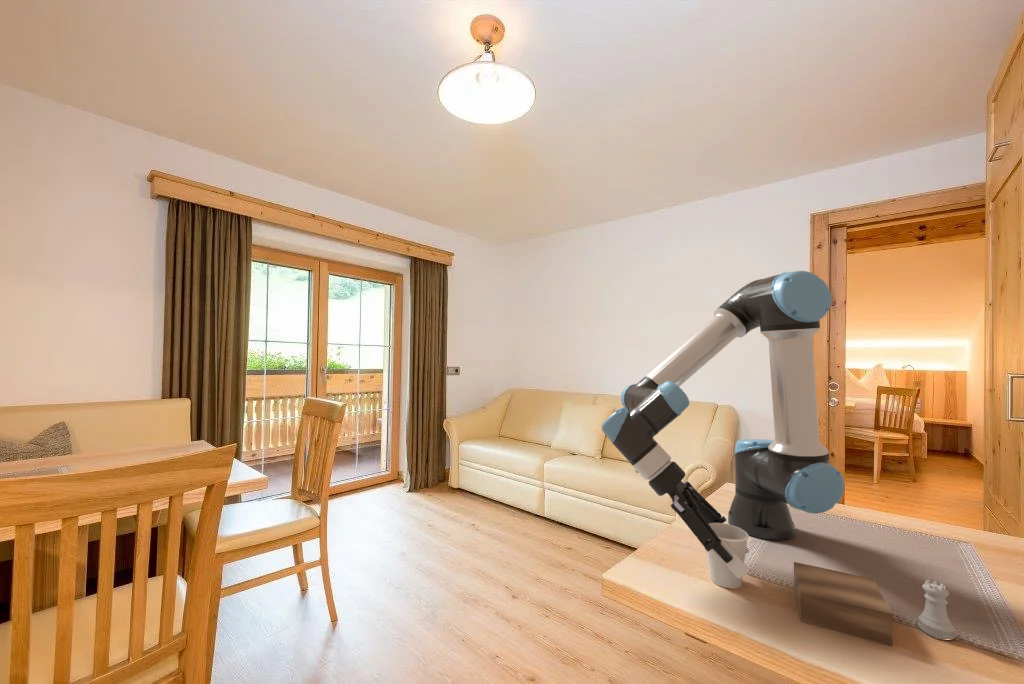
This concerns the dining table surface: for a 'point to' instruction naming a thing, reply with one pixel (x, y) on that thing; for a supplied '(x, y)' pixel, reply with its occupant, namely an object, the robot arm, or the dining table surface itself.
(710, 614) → the dining table surface
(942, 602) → the rook chess piece
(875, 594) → the walnut block
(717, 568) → the dixie cup
